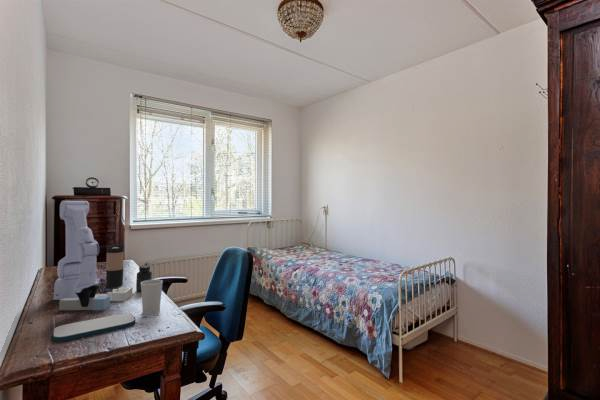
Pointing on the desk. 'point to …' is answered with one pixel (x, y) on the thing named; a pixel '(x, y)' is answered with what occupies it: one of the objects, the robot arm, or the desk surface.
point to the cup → (151, 296)
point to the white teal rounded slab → (92, 327)
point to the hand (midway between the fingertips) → (87, 305)
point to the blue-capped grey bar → (94, 304)
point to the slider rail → (118, 294)
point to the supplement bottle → (143, 276)
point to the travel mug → (114, 266)
